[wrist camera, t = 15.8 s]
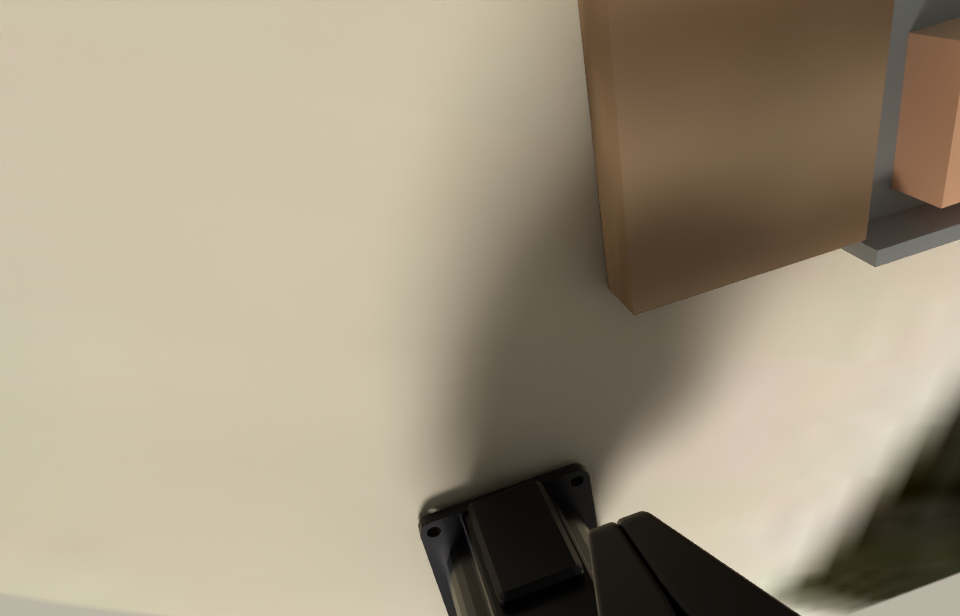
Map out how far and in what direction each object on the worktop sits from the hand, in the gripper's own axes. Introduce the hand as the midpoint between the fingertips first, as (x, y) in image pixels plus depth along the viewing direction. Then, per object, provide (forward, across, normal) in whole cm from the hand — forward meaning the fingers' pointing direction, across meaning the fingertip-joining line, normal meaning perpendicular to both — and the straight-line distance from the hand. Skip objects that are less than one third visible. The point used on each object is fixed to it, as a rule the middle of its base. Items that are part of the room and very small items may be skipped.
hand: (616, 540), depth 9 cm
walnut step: (+12, -9, -3) cm, 15 cm away
